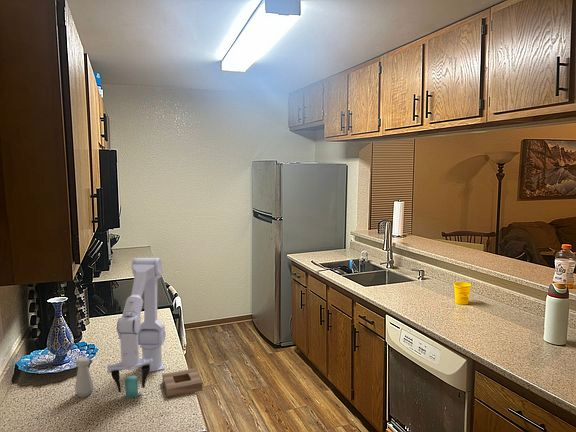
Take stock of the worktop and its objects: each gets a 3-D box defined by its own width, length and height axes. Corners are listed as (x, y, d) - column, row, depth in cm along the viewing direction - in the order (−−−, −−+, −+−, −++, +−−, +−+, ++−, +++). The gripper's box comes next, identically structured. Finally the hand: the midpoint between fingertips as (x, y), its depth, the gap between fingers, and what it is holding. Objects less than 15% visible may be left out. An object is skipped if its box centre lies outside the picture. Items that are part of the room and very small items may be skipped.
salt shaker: (88, 388, 157) (86, 353, 156) (96, 393, 153) (94, 357, 152) (72, 395, 153) (69, 359, 151) (80, 400, 149) (77, 363, 147)
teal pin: (125, 393, 154) (124, 377, 153) (137, 391, 155) (136, 374, 154) (126, 398, 150) (125, 382, 149) (138, 396, 151) (137, 379, 151)
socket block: (162, 382, 161) (162, 374, 161) (195, 375, 166) (195, 368, 166) (167, 397, 150) (167, 389, 150) (202, 390, 155) (202, 382, 155)
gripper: (107, 359, 144) (109, 398, 146) (153, 351, 150) (154, 389, 151) (106, 351, 151) (108, 388, 152) (150, 344, 156) (152, 380, 158)
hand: (131, 388), depth 152 cm, fingers open, 7 cm apart
